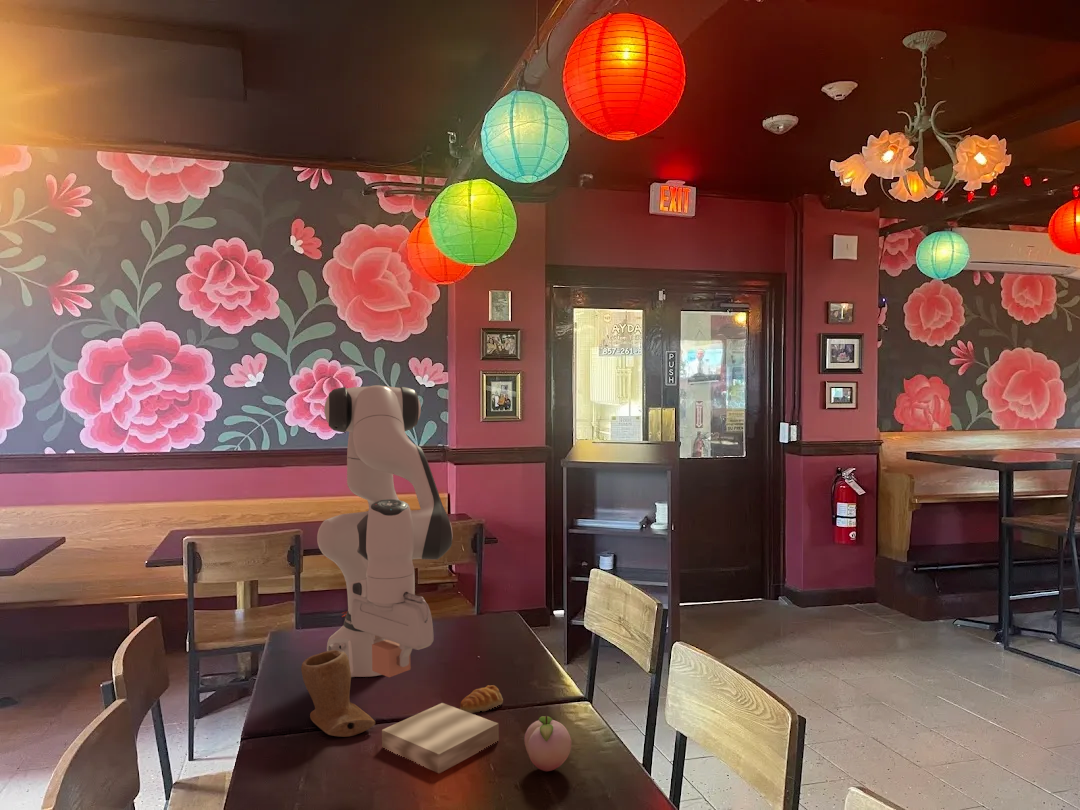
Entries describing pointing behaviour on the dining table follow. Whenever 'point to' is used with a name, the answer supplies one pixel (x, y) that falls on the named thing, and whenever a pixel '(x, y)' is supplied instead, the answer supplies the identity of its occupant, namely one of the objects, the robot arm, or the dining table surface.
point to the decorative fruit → (547, 743)
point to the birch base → (440, 737)
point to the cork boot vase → (333, 695)
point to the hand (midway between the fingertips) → (391, 661)
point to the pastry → (482, 699)
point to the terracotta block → (387, 658)
